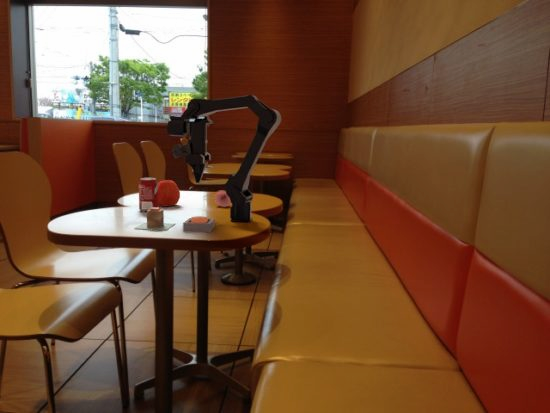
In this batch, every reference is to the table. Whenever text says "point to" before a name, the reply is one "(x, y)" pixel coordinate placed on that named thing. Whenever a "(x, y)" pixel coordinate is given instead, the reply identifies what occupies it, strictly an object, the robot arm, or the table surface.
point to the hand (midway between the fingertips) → (197, 182)
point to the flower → (222, 198)
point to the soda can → (148, 193)
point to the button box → (198, 226)
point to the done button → (199, 219)
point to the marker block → (155, 217)
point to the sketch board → (164, 227)
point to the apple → (168, 193)
